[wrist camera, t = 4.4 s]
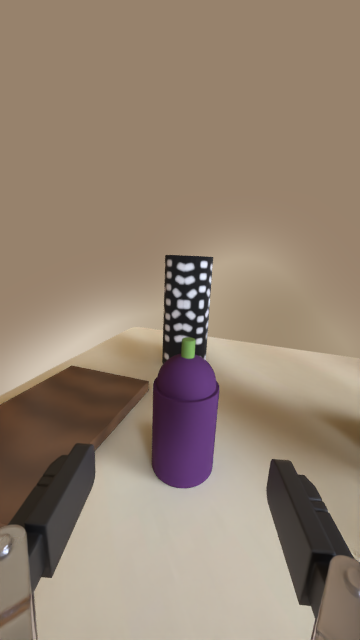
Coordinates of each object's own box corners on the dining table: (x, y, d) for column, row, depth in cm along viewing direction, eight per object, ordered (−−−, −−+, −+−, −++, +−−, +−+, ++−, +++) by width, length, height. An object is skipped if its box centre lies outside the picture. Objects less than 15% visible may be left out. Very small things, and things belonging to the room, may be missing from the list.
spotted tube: (214, 365, 47) (223, 257, 42) (178, 375, 42) (184, 255, 38) (187, 351, 54) (192, 256, 49) (154, 359, 49) (156, 254, 44)
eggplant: (186, 432, 29) (193, 326, 26) (225, 467, 24) (238, 343, 21) (140, 455, 25) (141, 335, 22) (175, 501, 21) (182, 357, 17)
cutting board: (72, 373, 41) (71, 365, 41) (148, 390, 37) (148, 381, 37) (-111, 481, 21) (-116, 467, 21) (13, 543, 17) (10, 526, 17)
